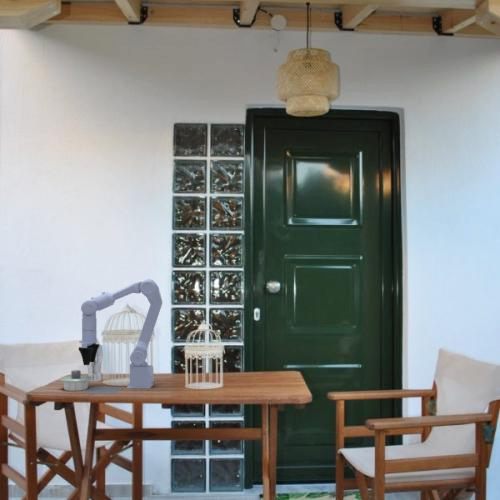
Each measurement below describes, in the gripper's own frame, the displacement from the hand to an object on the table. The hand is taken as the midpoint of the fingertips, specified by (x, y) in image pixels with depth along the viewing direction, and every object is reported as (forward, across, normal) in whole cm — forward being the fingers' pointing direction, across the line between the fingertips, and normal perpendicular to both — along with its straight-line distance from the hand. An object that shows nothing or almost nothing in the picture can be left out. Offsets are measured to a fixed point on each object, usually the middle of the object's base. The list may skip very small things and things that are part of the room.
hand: (89, 363), depth 263 cm
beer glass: (+10, -16, -2) cm, 19 cm away
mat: (+10, +6, +8) cm, 14 cm away
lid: (+6, +3, -4) cm, 8 cm away
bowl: (+10, +3, -4) cm, 11 cm away
